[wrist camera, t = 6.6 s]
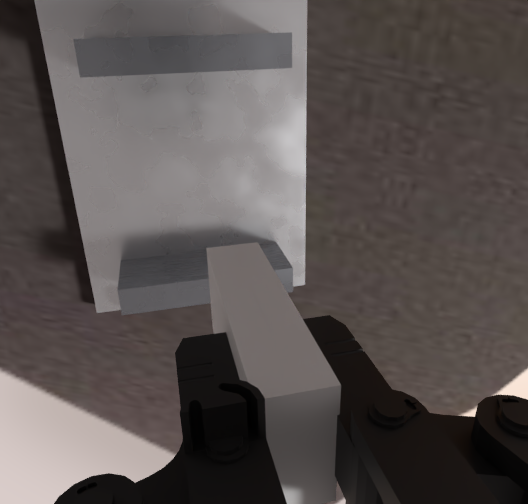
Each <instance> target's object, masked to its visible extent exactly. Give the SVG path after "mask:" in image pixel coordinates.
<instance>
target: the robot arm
mask: <svg viewBox="0 0 528 504" xmlns="http://www.w3.org/2000/svg"><path fill="white" fill-rule="evenodd" d="M206 250H207V262H208V275H209V287H210V299H211V312H212V324H213V332H214V334H210V335H203V336H196V337H189V338H183V339H182V341H181V343H180V345H179V347H178V349H177V350H176V352H175V355H176V365H177V375H178V385H179V395H180V404H181V410H180V417H181V426H182V434H183V442H182V444H181V447H180V450H179V451H178V453H177V454H176V456H175V457H174V458H173V460H172V461H171V462H169V463H168V464H167V465H166V466H165V467H164V468H162V469H161V470H159V471H157V472H156V473H154V474H153V475H151V476H149V477H147V478H145V479H143V480H140V481H138V482H136V483H134V482H133V481H131V480H130V479H128V478H127V477H125V476H122V475H115V474H103V475H97V476H91V477H89V478H87V479H85V480H83V481H80V482H78V483H76V484H74V485H73V486H72V487H70V488H69V489H68V490H67V491H66V492H64V493H63V494H62V495H61V496H59V497H58V499H57V501H56V502H55V503H54V504H323V503H327V502H331V501H336V483H337V481H338V484H339V486H340V488H341V490H342V493H343V495H344V497H345V499H346V504H528V400H527V399H523V398H520V397H516V396H510V395H495V396H491V397H486V398H485V399H484V400H482V401H481V402H480V403H479V404H478V406H477V411H476V415H475V417H467V416H452V415H440V414H433V413H429V412H428V410H427V409H426V408H425V407H424V406H423V405H422V404H421V403H420V402H419V401H418V400H417V399H416V398H414V397H412V396H410V395H408V394H406V393H404V392H401V391H396V390H392V389H391V387H390V386H389V385H388V383H387V382H386V381H385V379H384V378H383V376H382V375H381V374H380V372H379V371H378V369H377V368H376V367H375V365H374V364H373V363H372V361H371V360H370V358H369V357H368V356H367V354H366V353H365V352H363V349H362V347H361V346H360V345H359V343H358V342H357V341H355V338H354V336H353V335H352V334H351V332H350V331H349V329H348V328H347V327H346V325H344V324H343V323H341V322H339V321H338V320H336V319H334V318H333V317H331V316H330V315H329V316H322V317H315V318H308V319H302V317H301V316H300V314H299V312H298V310H297V309H296V307H295V305H294V304H293V302H292V300H291V298H290V297H289V295H288V293H287V292H286V290H285V288H284V286H283V285H282V283H281V281H280V280H279V278H278V276H277V274H276V273H275V271H274V269H273V268H272V266H271V264H270V262H269V261H268V259H267V257H266V256H265V254H264V252H263V250H262V249H261V247H260V245H259V244H258V242H256V243H247V244H238V245H229V246H220V247H211V248H206Z"/></svg>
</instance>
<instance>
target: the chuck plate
mask: <svg viewBox="0 0 528 504" xmlns="http://www.w3.org/2000/svg"><path fill="white" fill-rule="evenodd" d="M34 2H35V7H36V12H37V17H38V21H39V26H40V31H41V36H42V41H43V46H44V51H45V56H46V61H47V66H48V71H49V76H50V81H51V86H52V91H53V96H54V101H55V106H56V111H57V116H58V121H59V126H60V131H61V136H62V141H63V146H64V151H65V156H66V161H67V166H68V171H69V176H70V181H71V186H72V191H73V196H74V201H75V206H76V211H77V216H78V221H79V226H80V231H81V236H82V241H83V246H84V251H85V256H86V261H87V266H88V271H89V276H90V281H91V286H92V291H93V296H94V301H95V305H96V310H97V313H101V312H108V311H115V310H121V313H122V315H127V314H135V313H142V312H149V311H156V310H164V309H171V308H178V307H185V306H193V305H200V304H207V303H211V299H210V287H209V275H208V262H207V250H206V248H211V247H220V246H229V245H238V244H247V243H256V242H258V244H259V245H260V247H261V249H262V250H263V252H264V254H265V256H266V257H267V259H268V261H269V262H270V264H271V266H272V268H273V269H274V271H275V273H276V274H277V276H278V278H279V280H280V281H281V283H282V285H283V286H284V288H285V290H286V292H293V286H300V285H305V211H306V81H307V0H34Z"/></svg>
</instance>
